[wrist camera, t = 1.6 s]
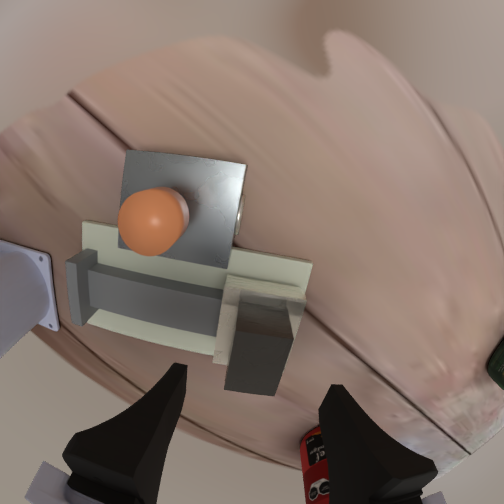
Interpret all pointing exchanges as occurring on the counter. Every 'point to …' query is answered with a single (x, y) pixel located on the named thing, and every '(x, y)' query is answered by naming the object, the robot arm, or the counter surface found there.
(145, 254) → the plunger
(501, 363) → the coffee jar
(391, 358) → the counter surface
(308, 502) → the canned food
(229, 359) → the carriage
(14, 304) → the robot arm
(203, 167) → the gauge box
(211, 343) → the track board
